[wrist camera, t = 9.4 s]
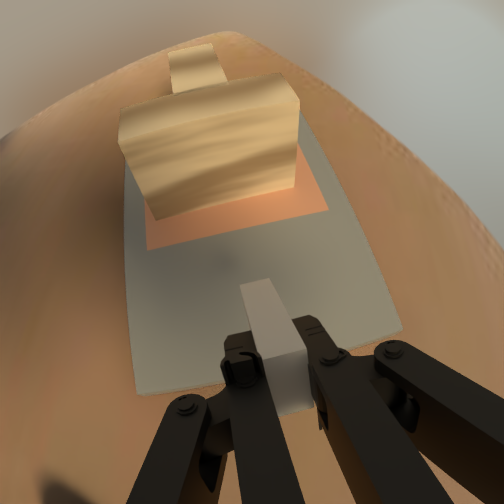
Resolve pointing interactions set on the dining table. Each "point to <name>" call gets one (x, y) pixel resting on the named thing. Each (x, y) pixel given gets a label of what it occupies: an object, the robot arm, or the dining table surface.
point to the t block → (210, 136)
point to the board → (247, 273)
